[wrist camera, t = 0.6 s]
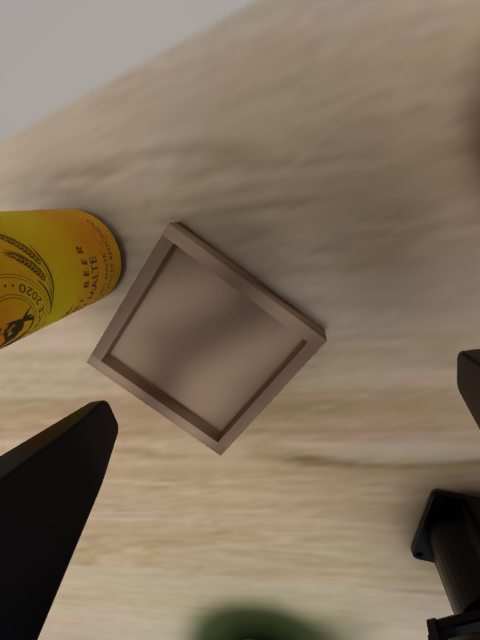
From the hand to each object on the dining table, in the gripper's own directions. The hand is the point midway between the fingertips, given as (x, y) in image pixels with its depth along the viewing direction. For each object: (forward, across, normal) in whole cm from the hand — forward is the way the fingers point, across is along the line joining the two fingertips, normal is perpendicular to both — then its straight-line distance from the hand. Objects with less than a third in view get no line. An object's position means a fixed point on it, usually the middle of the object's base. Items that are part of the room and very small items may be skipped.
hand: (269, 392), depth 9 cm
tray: (+14, +6, +4) cm, 16 cm away
